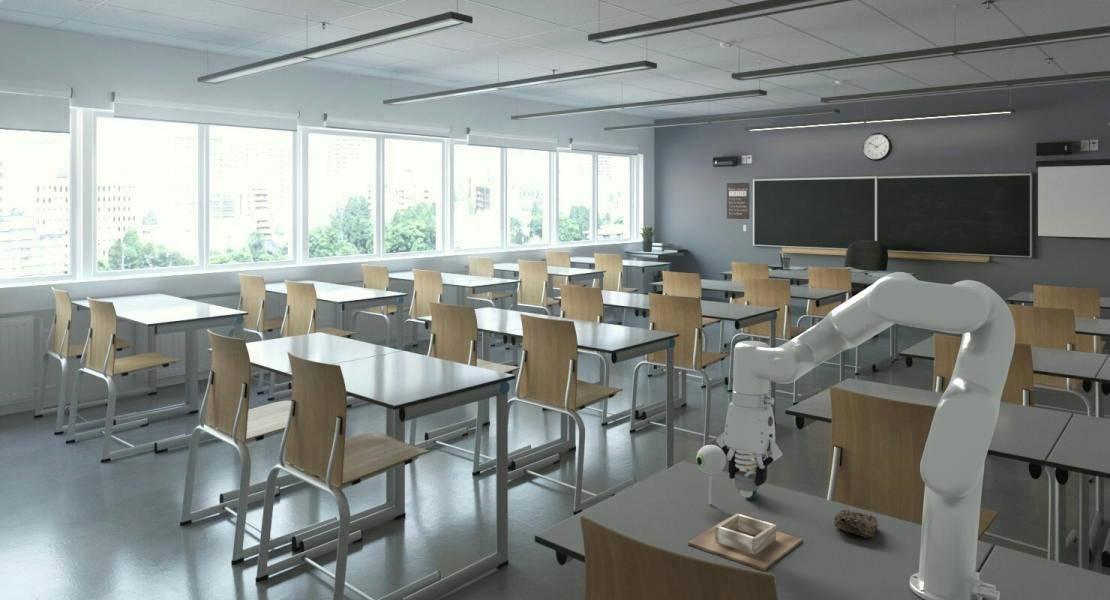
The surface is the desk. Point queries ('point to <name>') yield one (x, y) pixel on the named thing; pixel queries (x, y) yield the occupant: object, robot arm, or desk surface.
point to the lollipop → (711, 462)
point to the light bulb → (745, 472)
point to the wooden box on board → (746, 541)
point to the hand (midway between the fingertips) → (747, 479)
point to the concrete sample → (856, 523)
